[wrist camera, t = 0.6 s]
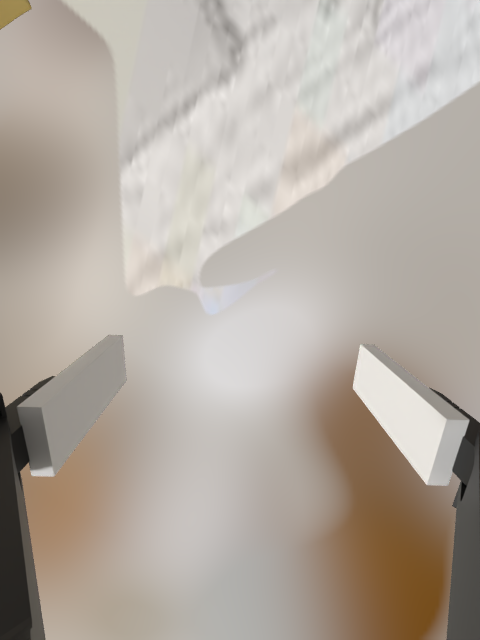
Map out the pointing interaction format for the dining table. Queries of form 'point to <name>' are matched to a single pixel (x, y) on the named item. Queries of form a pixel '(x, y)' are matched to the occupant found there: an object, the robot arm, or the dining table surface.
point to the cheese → (12, 10)
